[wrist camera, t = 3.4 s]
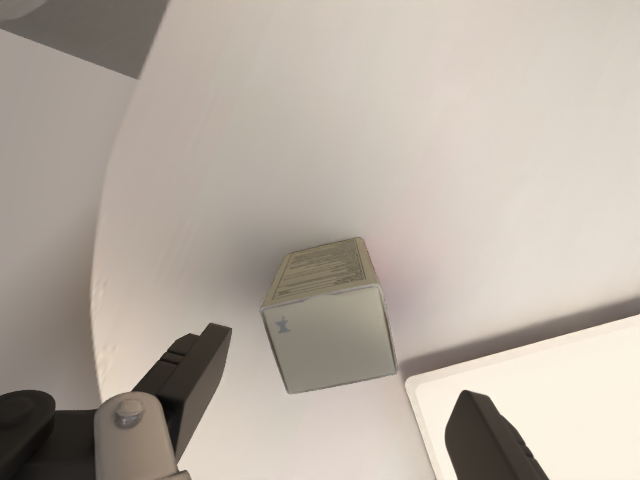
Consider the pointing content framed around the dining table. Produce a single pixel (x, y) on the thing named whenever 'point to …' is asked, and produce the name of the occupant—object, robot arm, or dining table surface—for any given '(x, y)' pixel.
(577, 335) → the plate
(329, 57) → the dining table surface
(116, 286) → the dining table surface
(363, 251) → the small box
